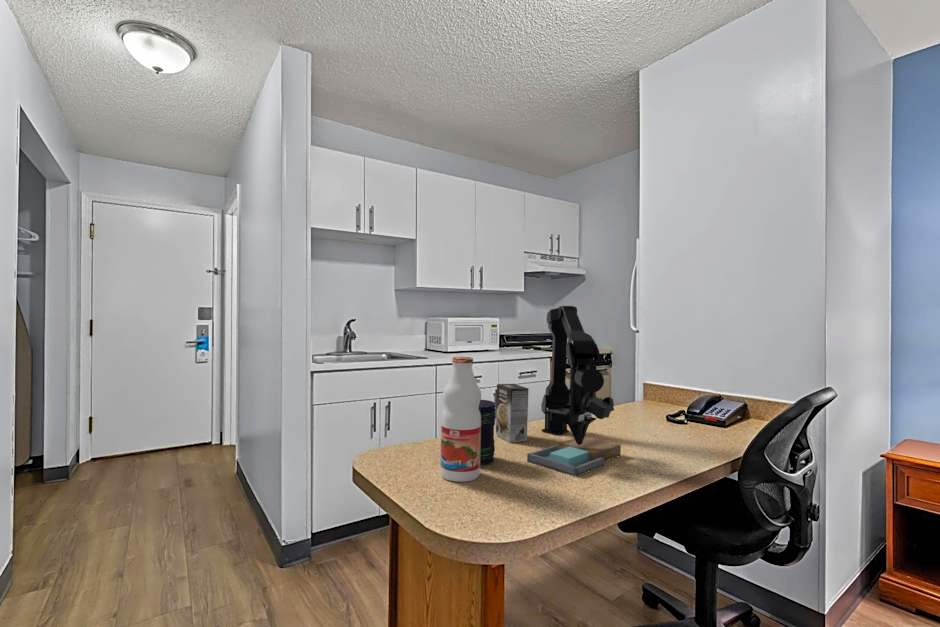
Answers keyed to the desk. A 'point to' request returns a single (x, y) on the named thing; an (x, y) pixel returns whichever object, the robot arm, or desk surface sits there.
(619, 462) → the desk surface
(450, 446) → the fruit juice
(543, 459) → the tray
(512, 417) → the coffee box
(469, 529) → the desk surface
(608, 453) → the deck
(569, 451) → the teal sponge
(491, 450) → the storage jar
